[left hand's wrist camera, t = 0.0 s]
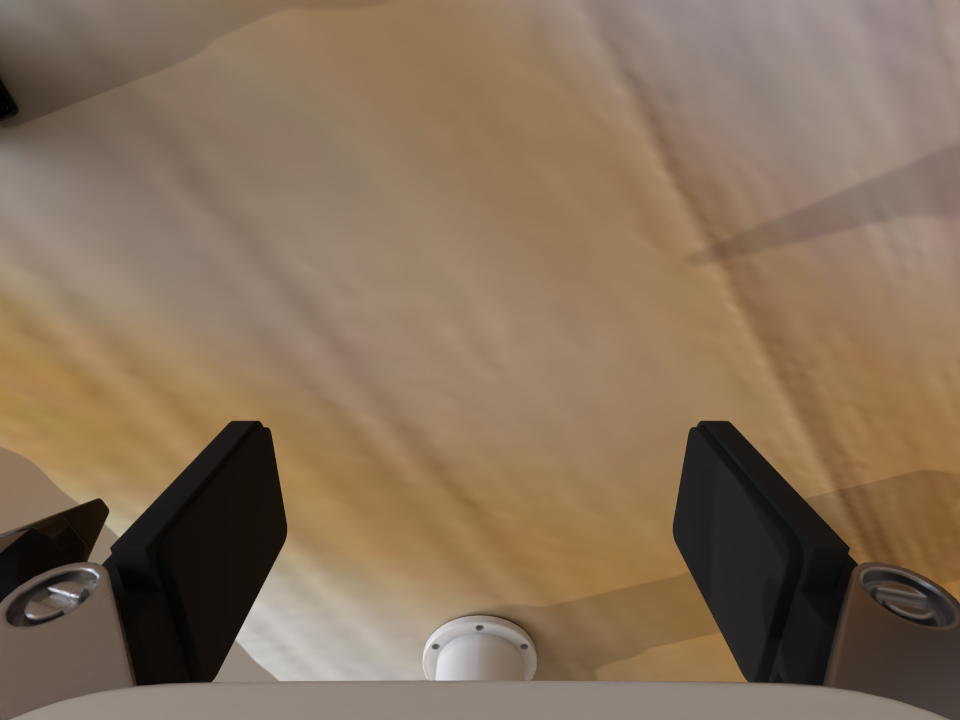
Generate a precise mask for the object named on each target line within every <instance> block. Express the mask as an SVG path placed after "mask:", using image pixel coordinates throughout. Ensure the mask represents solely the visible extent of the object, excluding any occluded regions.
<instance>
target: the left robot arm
mask: <svg viewBox="0 0 960 720" xmlns="http://www.w3.org/2000/svg"><path fill="white" fill-rule="evenodd" d="M286 536H287V522H286V516H285V510H284V504H283V499H282V493H281V487H280V481H279V475H278V469H277V464H276V458H275V452H274V446H273V440H272V435H271V431H270V429H269V428H268V427H263V425H262V423H261V422H260V421H231V422H230V423H229V424H228V425H227V426H226V427H225V428H224V429H223V430H222V431H221V432H220V433H219V434H218V435H217V436H216V437H215V438H214V440H213V441H212V442H211V443H210V444H209V445H208V446H207V447H206V448H205V449H204V450H203V451H202V452H201V453H200V454H199V455H198V456H197V457H196V458H195V459H194V460H193V462H192V463H191V464H190V465H189V466H188V467H187V468H186V469H185V470H184V471H183V472H182V473H181V474H180V475H179V476H178V477H177V478H176V479H175V480H174V481H173V482H172V484H171V485H170V486H169V487H168V488H167V489H166V490H165V491H164V492H163V493H162V494H161V495H160V496H159V497H158V498H157V499H156V500H155V501H154V502H153V503H152V505H151V506H150V507H149V508H148V509H147V510H146V511H145V512H144V513H143V514H142V515H141V516H140V517H139V518H138V519H137V520H136V521H135V522H134V523H133V524H132V525H131V527H130V528H129V529H128V530H127V531H126V532H125V533H124V534H123V535H122V536H121V537H120V538H119V539H118V540H117V541H116V542H115V543H114V544H113V545H112V546H111V548H110V549H111V552H112V554H111V556H110V557H109V558H108V559H107V560H106V561H105V562H104V563H103V564H102V565H99V564H97V563H90V562H80V563H73V564H67V565H64V566H61V567H58V568H54V569H51V570H49V571H47V572H45V573H42V574H40V575H38V576H36V577H34V578H32V579H30V580H29V581H27V582H26V583H24V584H22V585H21V586H19V587H17V588H16V589H15V590H14V591H13V592H12V593H10V594H9V595H8V596H7V597H6V598H4V600H3V601H2V602H1V603H0V720H960V603H959V602H958V601H957V600H956V598H954V597H953V596H952V595H951V594H950V593H948V592H947V591H946V590H945V589H944V588H943V587H941V586H939V585H938V584H936V583H934V582H933V581H931V580H930V579H928V578H926V577H924V576H922V575H920V574H918V573H915V572H913V571H911V570H909V569H906V568H902V567H899V566H896V565H893V564H887V563H880V562H870V563H863V564H861V565H858V564H857V563H856V562H855V561H854V560H853V559H852V558H851V557H850V555H849V554H848V552H849V549H850V547H849V546H848V545H847V544H846V543H845V542H844V541H843V540H842V539H841V538H840V537H839V536H838V535H837V534H836V533H835V532H834V531H833V530H832V529H831V528H830V527H829V525H828V524H827V523H826V522H825V521H824V520H823V519H822V518H821V517H820V516H819V515H818V514H817V513H816V512H815V511H814V510H813V509H812V508H811V507H810V506H809V505H808V503H807V502H806V501H805V500H804V499H803V498H802V497H801V496H800V495H799V494H798V493H797V492H796V491H795V490H794V489H793V488H792V487H791V486H790V485H789V484H788V482H787V481H786V480H785V479H784V478H783V477H782V476H781V475H780V474H779V473H778V472H777V471H776V470H775V469H774V468H773V467H772V466H771V465H770V464H769V463H768V462H767V460H766V459H765V458H764V457H763V456H762V455H761V454H760V453H759V452H758V451H757V450H756V449H755V448H754V447H753V446H752V445H751V444H750V443H749V442H748V441H747V440H746V438H745V437H744V436H743V435H742V434H741V433H740V432H739V431H738V430H737V429H736V428H735V427H734V426H733V425H732V424H731V423H730V422H729V421H700V422H699V423H698V425H697V427H692V428H691V429H690V431H689V435H688V440H687V446H686V452H685V458H684V464H683V469H682V475H681V481H680V487H679V493H678V499H677V504H676V510H675V516H674V522H673V536H674V540H675V542H676V545H677V547H678V549H679V550H680V552H681V554H682V556H683V558H684V560H685V562H686V564H687V566H688V568H689V570H690V572H691V574H692V576H693V578H694V580H695V582H696V584H697V586H698V588H699V590H700V592H701V594H702V595H703V597H704V599H705V601H706V603H707V605H708V607H709V609H710V611H711V613H712V615H713V617H714V619H715V621H716V623H717V625H718V627H719V629H720V631H721V633H722V635H723V637H724V639H725V640H726V642H727V644H728V646H729V648H730V650H731V652H732V654H733V656H734V658H735V660H736V662H737V664H738V666H739V668H740V670H741V672H742V674H743V676H744V677H745V679H746V680H747V681H748V682H684V681H531V680H532V679H533V677H534V674H535V672H536V668H537V654H536V649H535V645H534V643H533V641H532V639H531V638H530V637H529V635H528V634H527V633H526V632H525V631H524V630H523V629H521V628H520V627H519V626H517V625H515V624H514V623H512V622H510V621H507V620H504V619H501V618H498V617H492V616H482V615H476V616H466V617H463V618H459V619H455V620H453V621H451V622H448V623H446V624H445V625H443V626H441V627H440V628H438V629H437V630H436V631H435V632H434V633H433V634H432V635H431V637H430V638H429V640H428V641H427V643H426V646H425V649H424V655H423V669H424V672H425V675H426V677H427V678H428V680H429V681H276V682H212V681H213V680H214V679H215V677H216V675H217V674H218V672H219V670H220V668H221V666H222V664H223V662H224V660H225V658H226V656H227V654H228V652H229V650H230V648H231V646H232V644H233V642H234V640H235V639H236V637H237V635H238V633H239V631H240V629H241V627H242V625H243V623H244V621H245V619H246V617H247V615H248V613H249V611H250V609H251V607H252V605H253V603H254V601H255V599H256V597H257V595H258V594H259V592H260V590H261V588H262V586H263V584H264V582H265V580H266V578H267V576H268V574H269V572H270V570H271V568H272V566H273V564H274V562H275V560H276V558H277V556H278V554H279V552H280V550H281V549H282V547H283V545H284V542H285V540H286Z"/></svg>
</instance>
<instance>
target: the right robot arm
mask: <svg viewBox="0 0 960 720" xmlns="http://www.w3.org/2000/svg"><path fill="white" fill-rule="evenodd" d="M7 105H8V106H9V110H8V109H7V107H6V106H7ZM16 113H17V106H16V104H15V103H14V101H13V100H12V98H11V96H10V95H9V93H8V91H7V90H6V88H5V87H4V85H3V83H2V82H1V80H0V121H2V120H5V119H7V118H9V117H11V116H14V115H15V114H16ZM108 514H109V509H108V507H107V506H106V505H105V503H104V502H103V501H102V499H99V498H98V499H95V500H92V501H89V502H86V503H84V504H81V505H78V506H76V507H73V508H70V509H68V510H65V511H62V512H59V513H57V514H54V515H51V516H49V517H46V518H43V519H41V520H38V521H35V522H33V523H30V524H27V525H24V526H22V527H19V528H16V529H13V530H10V531H8V532H5V533H2V534H0V603H1V602H2V601H3V600H4V598H6V597H7V596H8V595H9V594H10V593H12V592H13V591H14V590H15V589H16V588H17V587H19V586H21V585H22V584H24V583H26V582H27V581H29V580H30V579H32V578H34V577H36V576H38V575H40V574H42V573H45V572H47V571H49V570H51V569H54V568H58V567H61V566H64V565H67V564H73V563H80V562H87V561H88V559H89V556H90V554H91V552H92V549H93V547H94V545H95V543H96V540H97V538H98V536H99V534H100V532H101V529H102V527H103V525H104V523H105V521H106V518H107V516H108Z"/></svg>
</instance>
